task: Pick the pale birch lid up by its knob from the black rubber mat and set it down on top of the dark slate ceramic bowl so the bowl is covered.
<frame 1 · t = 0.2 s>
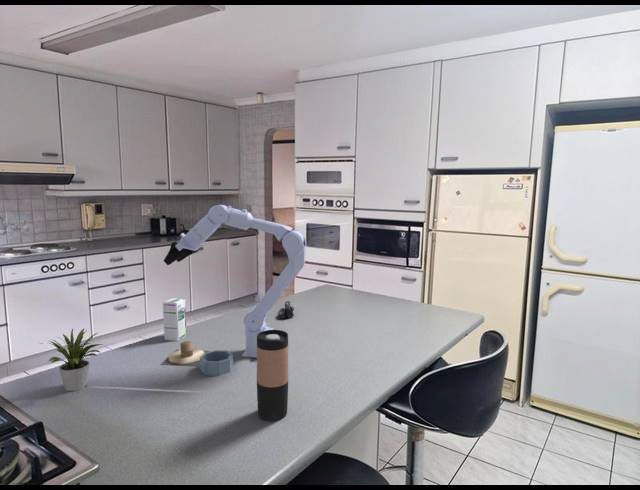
hand: (171, 261, 133), 31 cm above the countertop, tool tilted 45°, fingers open, 7 cm apart
bowl: (216, 370, 123), on the countertop
lid: (186, 357, 131), point 1 cm above the countertop, touching mat
syrup box: (175, 339, 148), on the countertop
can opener: (287, 314, 181), on the countertop
mat: (187, 359, 131), on the countertop
house plant: (72, 389, 110), on the countertop
travel mug: (272, 414, 100), on the countertop
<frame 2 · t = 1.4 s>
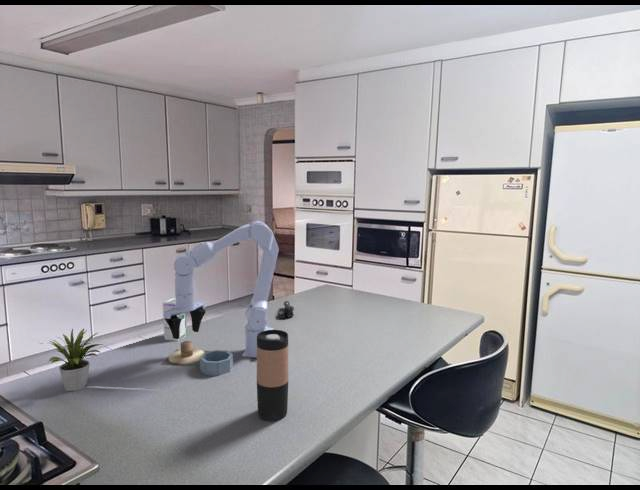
hand: (186, 334, 130), 8 cm above the countertop, tool pointing down, fingers open, 7 cm apart
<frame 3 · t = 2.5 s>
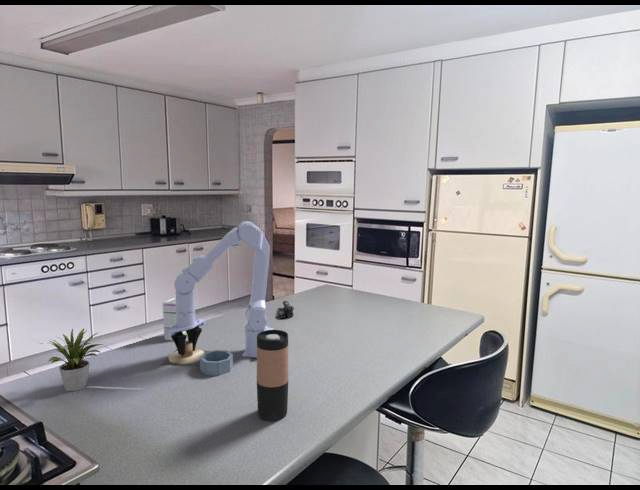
hand: (186, 352, 130), 2 cm above the countertop, tool pointing down, fingers closed on lid, 4 cm apart
lid: (186, 357, 131), point 1 cm above the countertop, touching gripper, mat
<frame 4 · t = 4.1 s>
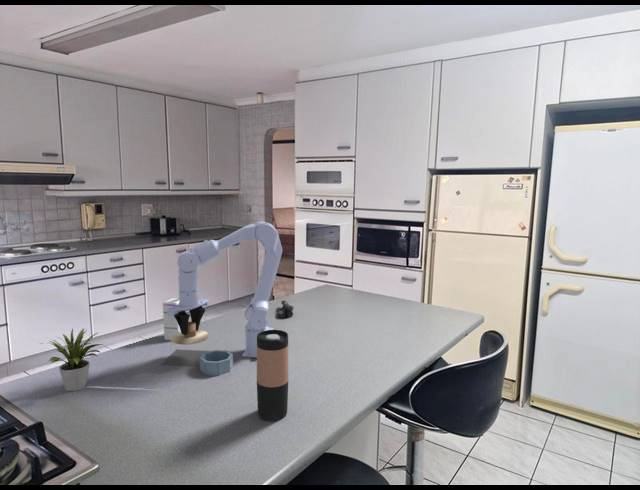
hand: (189, 332, 129), 9 cm above the countertop, tool pointing down, fingers closed on lid, 4 cm apart
lid: (190, 337, 129), point 7 cm above the countertop, touching gripper
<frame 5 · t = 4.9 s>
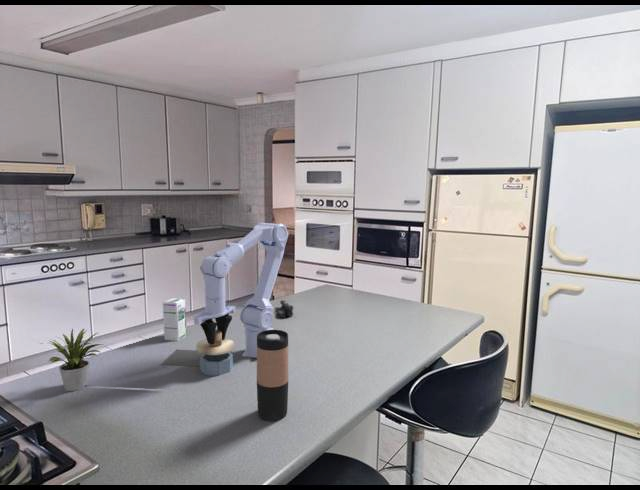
hand: (216, 341, 122), 9 cm above the countertop, tool pointing down, fingers closed on lid, 4 cm apart
lid: (215, 347, 122), point 7 cm above the countertop, touching gripper
when the fingers open (7 cm above the countertop, at t = 5.5 s): lid stays where it is, resting on bowl.
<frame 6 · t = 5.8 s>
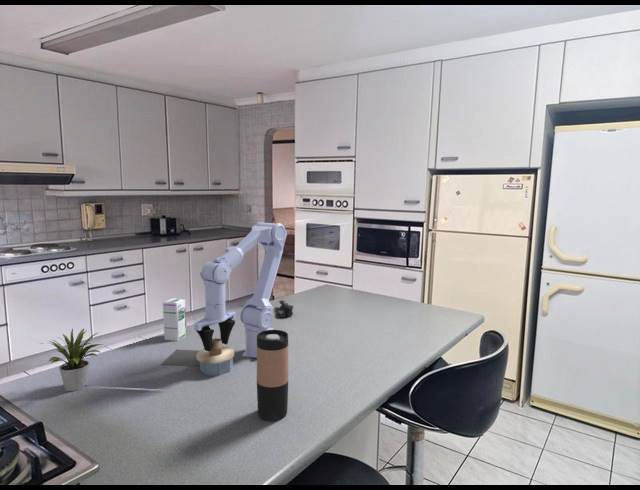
hand: (216, 346, 122), 7 cm above the countertop, tool pointing down, fingers open, 6 cm apart
lid: (215, 355, 123), point 4 cm above the countertop, touching bowl
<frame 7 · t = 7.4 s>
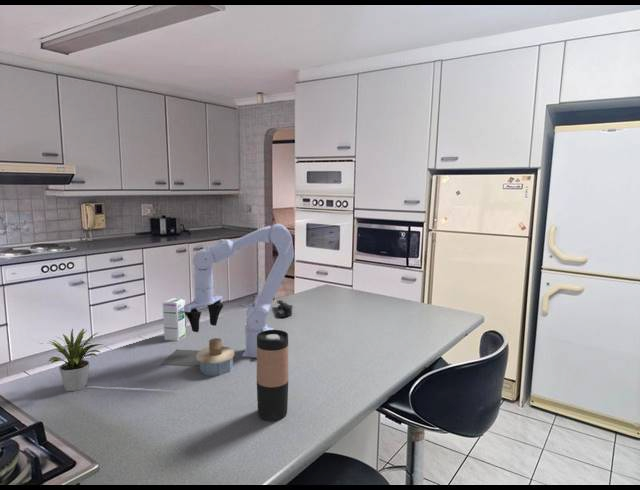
hand: (204, 328, 132), 9 cm above the countertop, tool pointing down, fingers open, 7 cm apart
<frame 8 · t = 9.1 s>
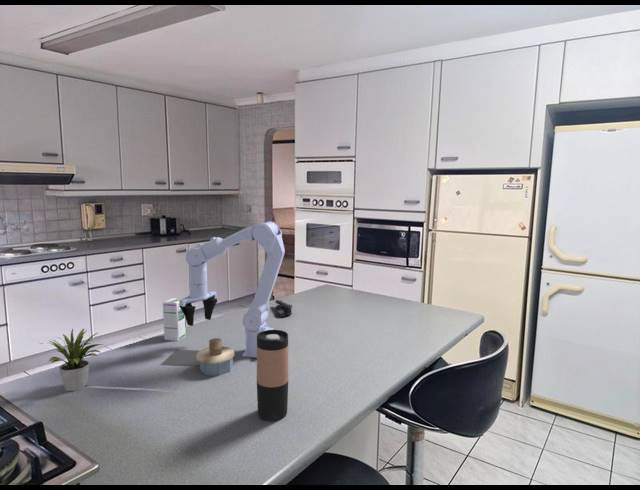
hand: (199, 322, 138), 9 cm above the countertop, tool pointing down, fingers open, 7 cm apart
at the end: lid 0.4 cm from the bowl (horizontally); lid point 4.5 cm above the countertop; lid tilted 0° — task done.
